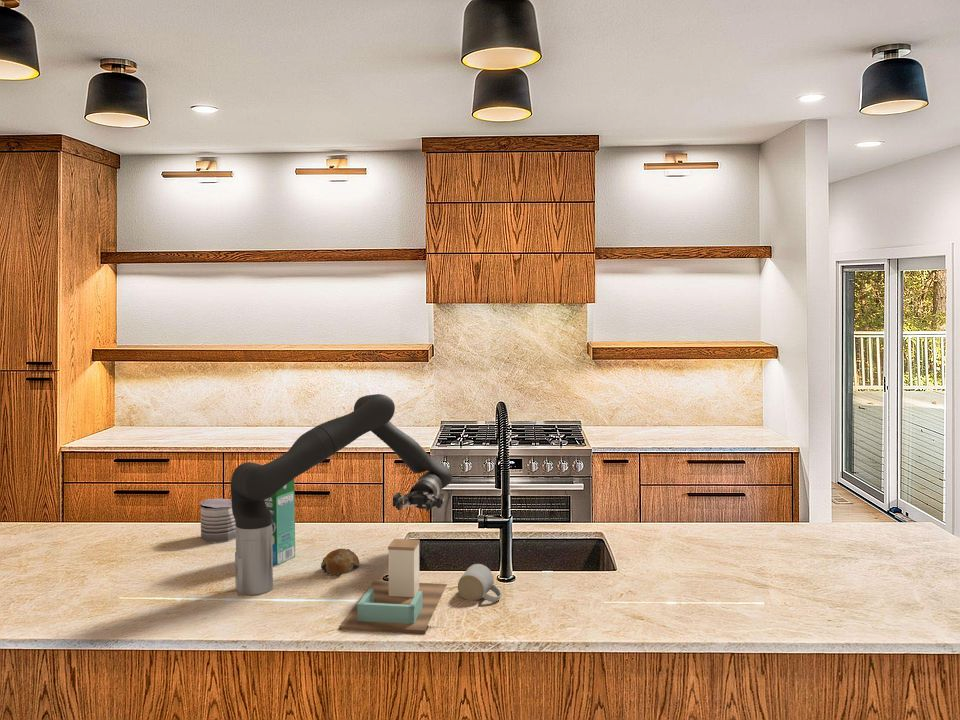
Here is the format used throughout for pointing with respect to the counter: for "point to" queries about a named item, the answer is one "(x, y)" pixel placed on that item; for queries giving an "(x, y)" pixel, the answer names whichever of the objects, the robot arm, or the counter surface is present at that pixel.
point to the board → (381, 595)
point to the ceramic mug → (478, 584)
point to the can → (217, 521)
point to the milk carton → (283, 523)
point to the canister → (403, 567)
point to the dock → (389, 609)
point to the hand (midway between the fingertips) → (412, 507)
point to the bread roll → (340, 562)
